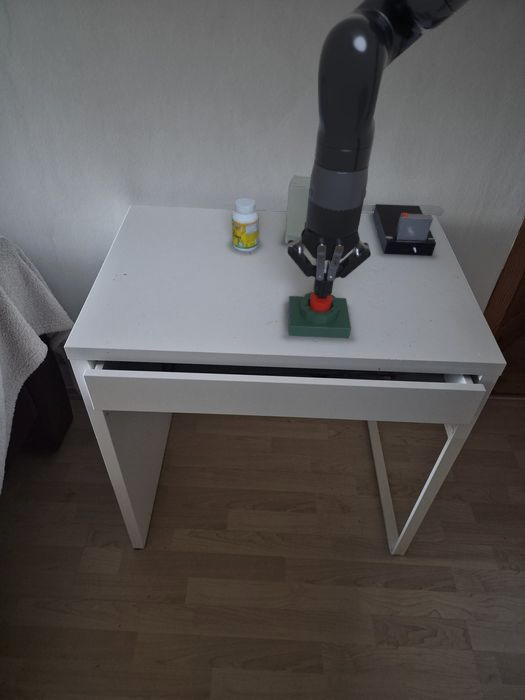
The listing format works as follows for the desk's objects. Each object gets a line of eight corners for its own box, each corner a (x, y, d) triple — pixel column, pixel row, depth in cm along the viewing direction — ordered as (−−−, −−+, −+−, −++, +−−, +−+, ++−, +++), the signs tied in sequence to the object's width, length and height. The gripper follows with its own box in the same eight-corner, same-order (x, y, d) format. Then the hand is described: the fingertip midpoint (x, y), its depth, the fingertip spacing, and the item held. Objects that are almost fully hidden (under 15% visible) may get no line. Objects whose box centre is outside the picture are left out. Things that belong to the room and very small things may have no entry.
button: (330, 298, 76) (331, 290, 74) (331, 312, 73) (333, 304, 72) (308, 298, 76) (309, 289, 74) (309, 311, 73) (310, 303, 72)
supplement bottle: (262, 248, 93) (264, 205, 86) (240, 254, 91) (239, 211, 84) (250, 236, 96) (250, 193, 89) (228, 242, 94) (226, 199, 87)
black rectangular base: (436, 266, 90) (441, 252, 87) (386, 264, 90) (389, 250, 87) (416, 217, 103) (419, 204, 101) (372, 215, 104) (375, 203, 101)
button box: (344, 307, 80) (347, 289, 77) (348, 338, 74) (353, 320, 71) (288, 305, 80) (290, 287, 77) (288, 336, 74) (290, 317, 71)
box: (304, 247, 93) (310, 188, 84) (283, 243, 94) (288, 185, 85) (309, 234, 97) (315, 176, 88) (289, 231, 98) (293, 173, 88)
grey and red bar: (424, 236, 92) (431, 213, 88) (425, 241, 91) (433, 217, 87) (395, 235, 92) (401, 212, 88) (396, 239, 91) (402, 216, 87)
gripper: (380, 184, 63) (359, 283, 75) (287, 180, 63) (281, 280, 75) (390, 209, 58) (365, 311, 70) (288, 205, 58) (281, 308, 70)
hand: (321, 295), depth 73 cm, fingers closed
